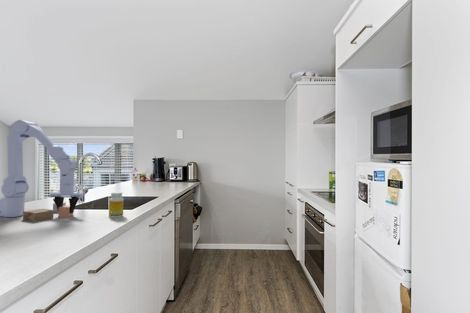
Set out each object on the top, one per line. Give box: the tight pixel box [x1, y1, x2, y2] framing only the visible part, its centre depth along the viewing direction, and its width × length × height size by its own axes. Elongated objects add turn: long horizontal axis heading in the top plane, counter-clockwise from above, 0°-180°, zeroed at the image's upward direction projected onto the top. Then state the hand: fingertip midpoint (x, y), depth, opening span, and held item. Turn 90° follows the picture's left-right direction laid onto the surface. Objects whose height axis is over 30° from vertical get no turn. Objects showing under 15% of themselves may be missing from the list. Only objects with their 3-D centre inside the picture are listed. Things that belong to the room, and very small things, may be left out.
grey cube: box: [52, 201, 67, 214], centre depth 142 cm, size 4×4×4 cm
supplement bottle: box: [108, 191, 125, 219], centre depth 134 cm, size 6×6×11 cm
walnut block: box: [22, 208, 54, 223], centre depth 124 cm, size 8×8×4 cm
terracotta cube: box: [57, 205, 74, 218], centre depth 132 cm, size 4×4×4 cm
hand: (66, 212), depth 132 cm, fingers closed on terracotta cube, 4 cm apart
